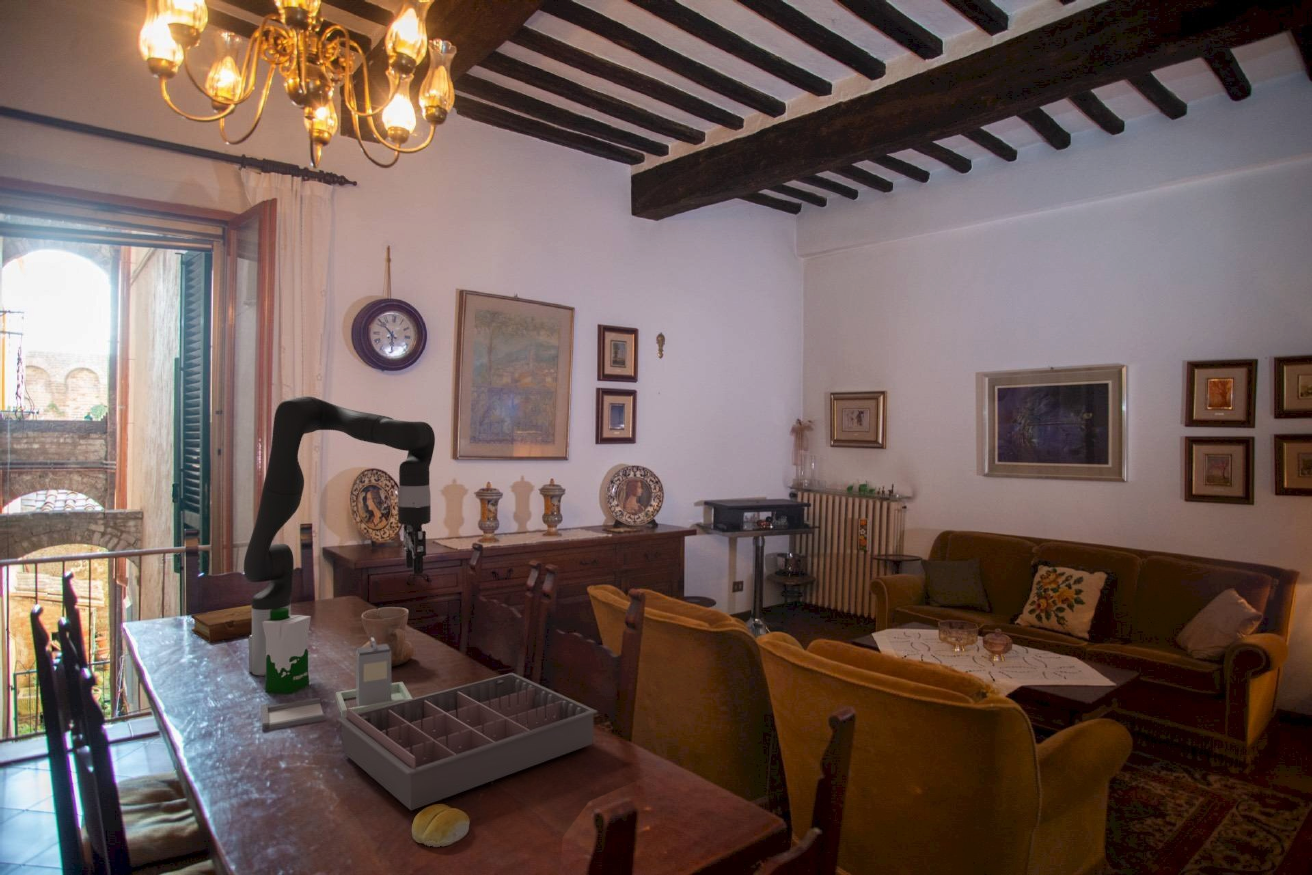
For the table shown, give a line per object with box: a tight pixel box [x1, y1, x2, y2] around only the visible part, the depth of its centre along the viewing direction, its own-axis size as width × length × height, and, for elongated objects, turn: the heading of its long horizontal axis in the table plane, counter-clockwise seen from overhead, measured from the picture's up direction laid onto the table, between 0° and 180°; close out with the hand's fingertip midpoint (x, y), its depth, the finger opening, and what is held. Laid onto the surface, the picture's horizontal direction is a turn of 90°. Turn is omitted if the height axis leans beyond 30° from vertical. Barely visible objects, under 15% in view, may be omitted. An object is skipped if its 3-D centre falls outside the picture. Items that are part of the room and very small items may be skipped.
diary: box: [190, 604, 252, 643], centre depth 237 cm, size 23×19×6 cm
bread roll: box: [411, 803, 471, 848], centre depth 119 cm, size 8×9×4 cm
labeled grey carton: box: [355, 637, 392, 707], centre depth 173 cm, size 7×5×15 cm
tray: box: [335, 681, 413, 717], centre depth 173 cm, size 15×13×2 cm
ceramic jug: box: [361, 606, 414, 668], centre depth 203 cm, size 18×14×14 cm
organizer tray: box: [336, 672, 599, 811], centre depth 148 cm, size 32×40×10 cm
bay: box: [260, 697, 326, 732], centre depth 164 cm, size 12×12×2 cm
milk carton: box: [262, 608, 312, 695], centre depth 182 cm, size 9×9×20 cm
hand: (414, 570), depth 181 cm, fingers open, 8 cm apart
